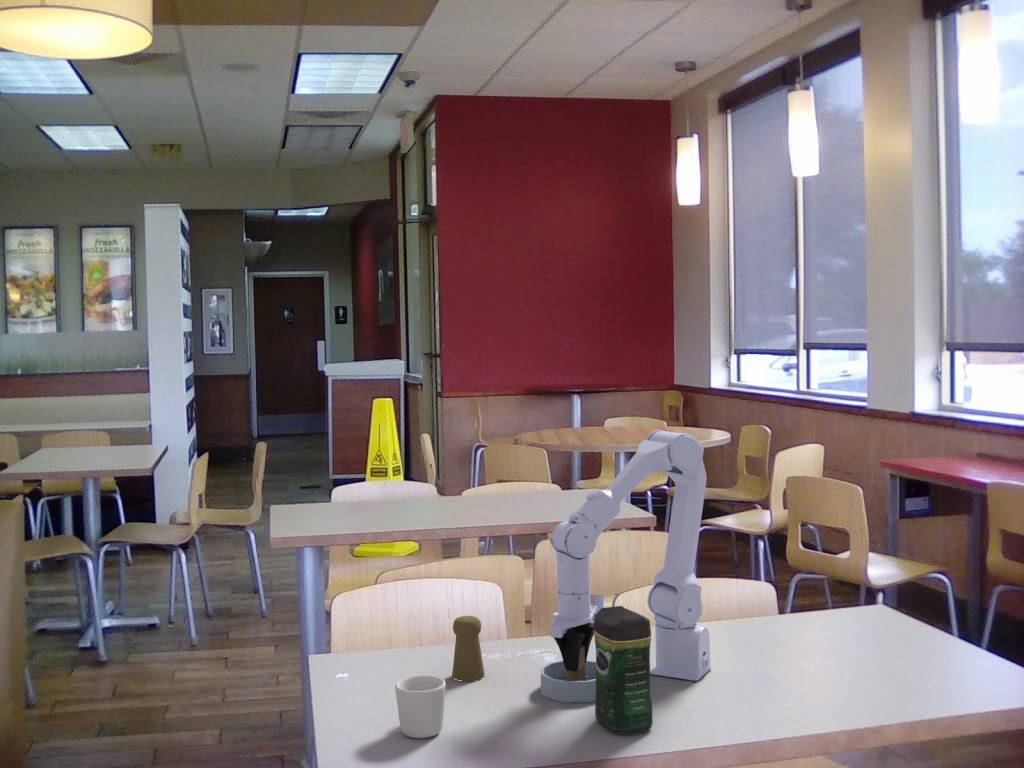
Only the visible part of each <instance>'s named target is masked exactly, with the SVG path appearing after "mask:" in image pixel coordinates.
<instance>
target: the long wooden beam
mask: <svg viewBox="0 0 1024 768" xmlns="http://www.w3.org/2000/svg"><path fill="white" fill-rule="evenodd" d="M566 681H585V646H583V645H581V649H580V657H579V666H578V670H577V671H569V670H566Z"/></svg>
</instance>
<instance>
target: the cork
mask: <svg viewBox="0 0 1024 768" xmlns="http://www.w3.org/2000/svg"><path fill="white" fill-rule="evenodd" d="M452 624H453V625H452V631H453V633H454V634H455V645H454V655H453V664H452V674H451V678H452V677H453V678H455V679H457V680H462V681H472V682H476V681H475V680H478V681H480V680H479V679H481V678H483V677H484V675H485V676H486V673H485V669H484V668H485V667H484V663H483V656H482V649H481V648H482V647H481V643H480V642H481V641H480V636H479V634H480V633H481V631H482V622H481V620H480V619H479V618H478V617H477V616H474V615H462V616H458V617H457V618H455V619H454V621H453V623H452ZM453 678H452V679H453ZM484 678H485V677H484ZM484 678H483V679H484ZM481 680H482V679H481Z"/></svg>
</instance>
